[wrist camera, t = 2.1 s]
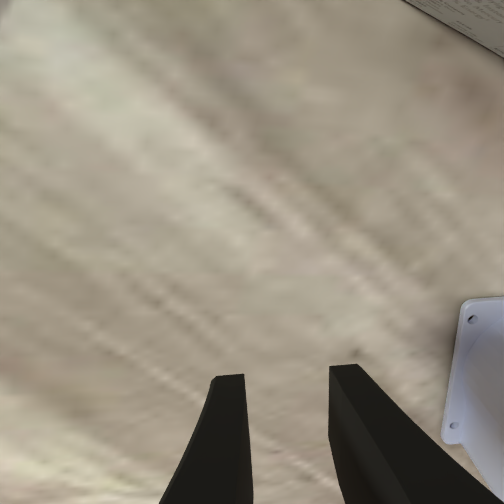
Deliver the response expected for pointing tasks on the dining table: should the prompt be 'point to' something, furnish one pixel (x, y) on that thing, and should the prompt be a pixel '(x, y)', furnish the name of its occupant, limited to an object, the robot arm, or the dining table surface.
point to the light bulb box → (470, 19)
